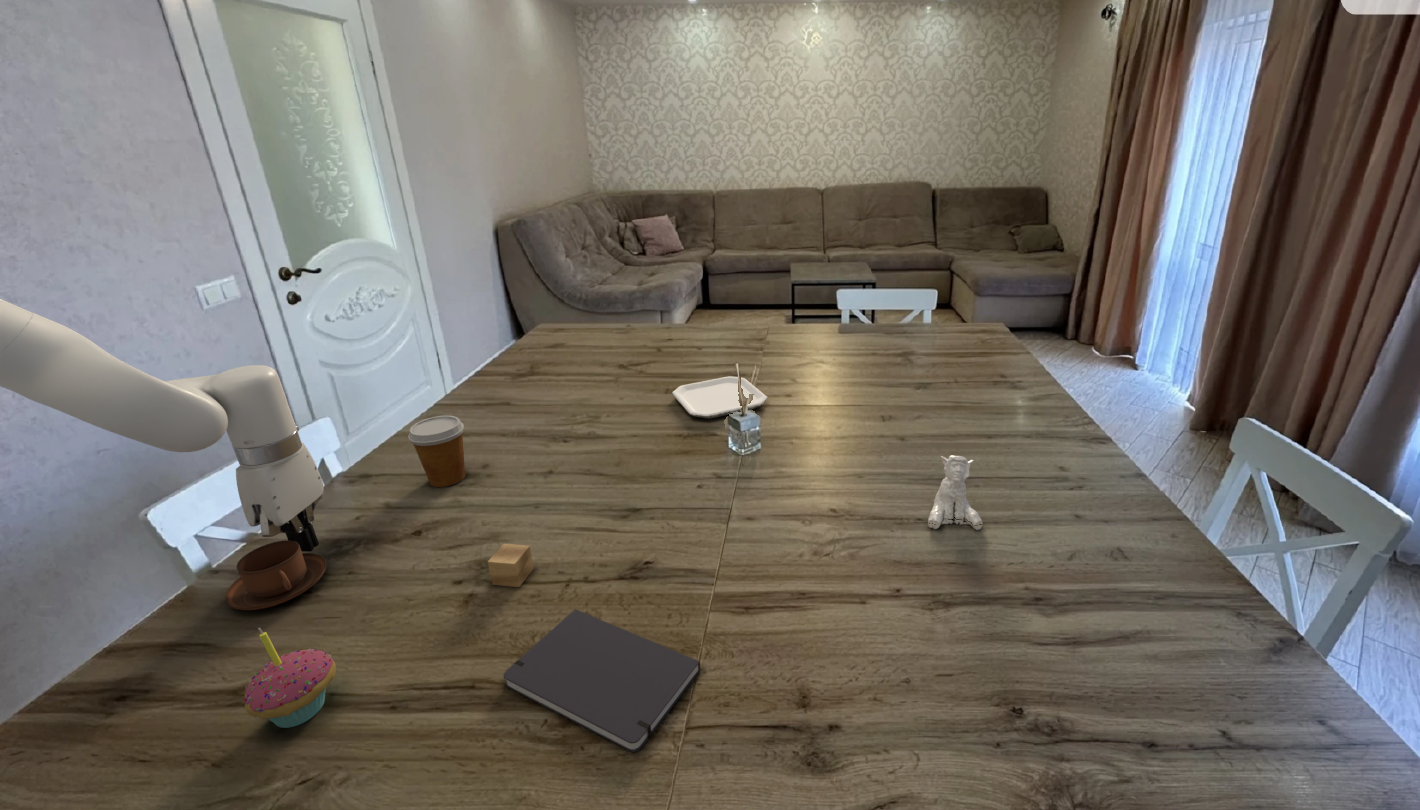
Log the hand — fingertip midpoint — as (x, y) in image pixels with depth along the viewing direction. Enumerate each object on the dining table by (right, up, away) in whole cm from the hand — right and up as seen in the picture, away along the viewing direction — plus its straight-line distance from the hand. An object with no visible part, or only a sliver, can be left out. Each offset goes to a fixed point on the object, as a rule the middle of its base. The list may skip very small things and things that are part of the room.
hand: (305, 548), depth 98 cm
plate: (+59, +20, +59) cm, 86 cm away
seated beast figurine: (+106, +2, +13) cm, 107 cm away
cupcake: (+19, -12, -24) cm, 33 cm away
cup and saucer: (0, -5, -5) cm, 7 cm away
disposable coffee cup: (+9, +6, +25) cm, 27 cm away
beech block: (+34, -4, -2) cm, 35 cm away
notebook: (+54, -11, -20) cm, 58 cm away
